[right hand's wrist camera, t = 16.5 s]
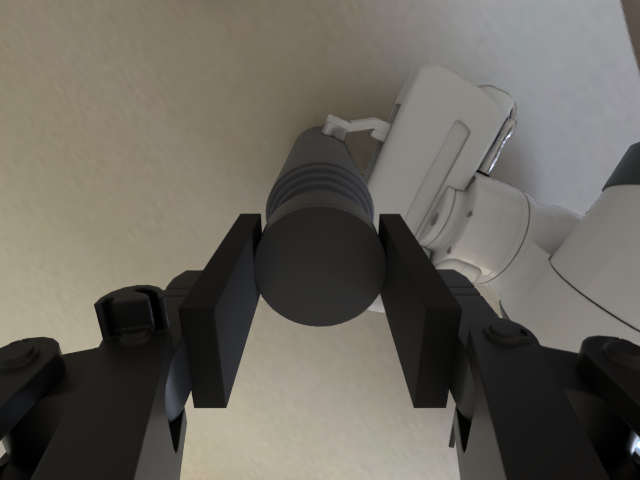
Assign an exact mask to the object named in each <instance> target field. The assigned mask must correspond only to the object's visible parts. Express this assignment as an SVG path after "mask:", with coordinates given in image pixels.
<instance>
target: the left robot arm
mask: <svg viewBox="0 0 640 480" xmlns="http://www.w3.org/2000/svg"><path fill="white" fill-rule="evenodd" d="M509 113H510V116H509V118H507V116H508V114H509ZM515 116H516V104H515V101H514V99H513V98H512V96H511V95H509V94H508V93H506V92H504V91H502V90H500V89H498V88H496V87H493V86H490V85H481V86H476V85H474V84H473V83H472V82H470V81H469V80H467V79H466V78H464V77H462V76H461V75H459V74H457V73H456V72H454V71H452V70H450V69H449V68H447V67H445V66H443V65H441V64H438V63H435V62H428V63H424V64H421V65H419V66H417V67H415V68H413V69H411V70H410V71H409V73H408V75H407V77H406V80H405V82H404V84H403V86H402V89H401V91H400V93H399V95H398V98H397V100H396V102H395V104H394V107H393V109H392V111H391V114H390V116H389V118H388V120H387V122H385V121H382V120H380V119H378V118H375V117H370V118H364V119H357V120H351V121H350V122H348V121H345V120H343V119H341V118H338V117H336V116H333V115H331V114H328V117H327V119H326V122H325V124H324V127H323V130H322V133H323V134H325V135H327V136H334V138H335V139H337V140H339V141H342V142H343V141H344V139H345V137H346V134H347V132H354V131H361V130H368V129H369V131H368V134H369V135H370V136H371V137H373V138H376V139H378V140H379V141H378V143H377V145H376V147H375V150H374V152H373V154H372V157H371V159H370V161H369V163H368V166H367V168H366V170H365V172H364V175H363V177H362V178H363V180H364V182H365V184H366V186H367V188H368V190H369V192H370V194H371V197H372V200H373V205H374V226H375V228H376V231H377V233H378V228H379V214H400V215H401V217H402V218H403V220H404V221H405V223H406V224H407V226H408V227H409V229H410V230H411V232H412V233H413V235H414V236H415V238H416V239H417V241H418V242H419V244H420V245H421V247H422V248H423V250H424V251H425V253H426V254H427V256H428V257H429V259H430V260H431V262H432V263H433V265H434V266H435V268H436V269H454V270H456V271H457V272H459V273H461V274H462V275H464V276H466V277H467V278H468V279H469V280H470V282H471V283H474V284H482V285H487V286H490V287H492V288H494V289H495V290H497V291H498V292H499V293H500V295H501V300H500V301H499V303H500V309H501V313H502V316H503V319H508V320H511V321H513V322H516V323H518V324H521V325H522V326H524V327H525V328H527V329H529V330H530V331H531V332H532V333H533V334H534V335H535V337H536V338H537V339H538V341H539V343H540V345H542V346H546V347H550V348H555V349H560V350H565V351H571V352H576V353H579V350H580V347H581V344H582V341H583V340H584V339H586V338H587V337H590V336H596V335H601V336H613V337H618V338H619V339H621V338H622V339H625V340H629V341H631V342H632V343H634V344H636V345H639V346H640V142H638V143H636V144H633V145H631V146H630V147H629V149H628V150H627V152H626V153H625V155H624V156H623V158H622V160H621V161H620V163H619V164H618V166H617V167H616V169H615V170H614V172H613V173H612V175H611V176H610V178H609V179H608V181H607V183H606V184H605V186H604V187H603V189H602V194H601V195H600V196H599V198H598V199H597V200H596V201H595V203H594V204H593V205H592V206H591V208H590V209H589V210H588V212H587V213H586V214H585V215H584V217H583V216H580V215H578V214H576V213H574V212H572V211H569V210H567V209H565V208H562V207H559V206H554V205H544V204H540V203H538V202H536V201H535V200H533V199H532V198H531V197H530V196H529V195H528V194H527V193H525V192H523V191H522V190H520V189H517V188H515V187H512V186H510V185H508V184H505V183H503V182H501V181H498V180H496V179H493V178H491V177H489V174H490V172H491V171H492V169H493V167H494V165H495V164H496V162H497V160H498V158H499V156H500V153H501V150H502V149H503V147H504V145H505V143H506V141H507V140H508V138H510V137H511V135H512V134H513V132H514V130H515V127H516V124H517V121H515V120H514V119H515ZM367 310H371V311H376V312H384V313H385V309H384V306H383V303H382V299H381V296H380V294H379V295H378V297H377V298H376V300H375V301H374V302H373V303H372V305H371V306H370V307H369V308H368V309H367ZM635 451H636V452H637V454H638V455H639V456H640V439H639V441H638V444H637V446H636V448H635Z"/></svg>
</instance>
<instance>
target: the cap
mask: <svg viewBox="0 0 640 480" xmlns="http://www.w3.org/2000/svg"><path fill="white" fill-rule="evenodd" d="M254 272H255V281H256V285H257V287H258V289H259V291H260V293H261V295H262V297H263V298H264V300H265V301H266V302H267V303H268V304H269V306H270V307H271V308H272V309H274V310H275V311H276V312H277V313H279V314H280V315H282V316H283V317H285V318H287V319H289V320H291V321H293V322H296V323H299V324H303V325H308V326H317V327H320V326H332V325H337V324H341V323H344V322H347V321H349V320H351V319H353V318H355V317H357V316H358V315H360V314H361V313H363V312H364V311H365V310H366V309H368V308H369V307H370V306H371V305H372V303H373V302H374V301H375V300H376V298H377V297H378V295H379V294H380V292H381V290H382V288H383V285H384V282H385V275H386V254H385V250H384V247H383V245H382V243H381V240H380V238H379V235H378V233H377V231H376V228H375V226H374V223H373V222H372V220H371V218H370V216H369V215H368V214H367V213H366V211H365V210H364V209H363V208H362V207H361V206H359V205H358V204H357V203H355V202H354V201H352V200H351V199H349V198H347V197H345V196H342V195H339V194H336V193H331V192H323V191H322V192H309V193H304V194H301V195H298V196H296V197H293V198H291V199H289V200H288V201H286V202H285V203H283V204H282V205H281V206H280V207H278V208H277V209H276V211H275V212H274V213H273V214H272V215H271V217H270V218H269V220H268V222H267V224H266V226H265V228H264V230H263V233H262V235H261V238H260V240H259V243H258V245H257V248H256V251H255V255H254Z"/></svg>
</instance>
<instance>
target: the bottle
mask: <svg viewBox="0 0 640 480" xmlns="http://www.w3.org/2000/svg"><path fill="white" fill-rule="evenodd" d="M322 130H323V127H314V128H311V129H308V130H306V131H305V132H303V133H302V134H301V135H300V136H299V138H298V139H297V141H296V143H295V145H294V147H293V148H292V150H291V152H290V154H289V156H288V158H287V160H286V162H285V164H284V166H283V168H282V170H281V172H280V174H279V176H278V178H277V180H276V182H275V184H274V186H273V188H272V190H271V192H270V195H269V197H268V201H267V205H266V222H268V220H269V218H270V217H271V215H272V214H273V213H274V212H275V211H276V209H277V208H278V207H280V206H281V205H282V204H283V203H285V202H286V201H288V200H289V199H291V198H293V197H296V196H298V195H301V194H304V193H309V192H322V191H323V192H331V193H336V194H339V195H342V196H345V197H347V198H349V199H351V200H352V201H354V202H355V203H357V204H358V205H359V206H361V207H362V208H363V209H364V210H365V211H366V213H367V214H368V215H369V216H370V218H371V220H372V222H373V223H374V205H373V200H372V197H371V194H370V192H369V190H368V188H367V186H366V184H365V182H364V180H363V178H362V176H361V174H360V172H359V170H358V168H357V166H356V164H355V162H354V160H353V158H352V156H351V154H350V152H349V151H348V149H347V147H346V145H345V143H344V141H343V142H342V141H339V140H337V139H335V138H334V136H327V135H325V134H323V133H322Z"/></svg>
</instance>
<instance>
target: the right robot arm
mask: <svg viewBox="0 0 640 480" xmlns="http://www.w3.org/2000/svg"><path fill="white" fill-rule="evenodd" d="M261 235H262V224H261V214H240V215H239V217H238V218H237V220H236V221H235V223H234V225H233V226H232V228H231V229H230V231H229V232H228V234H227V235H226V237H225V238H224V240H223V241H222V243H221V244H220V246H219V247H218V249H217V250H216V252H215V253H214V255H213V256H212V258H211V259H210V261H209V262H208V264H207V265H206V267H205V268H204V270H187V271H185V272H183V273H182V274H180V275H178V276H177V277H175V278H173V280H172V281H171V282H170V284H169V285H168V286H167V287H166V290H164V291H163V290H162V289H160V288H159V287H156V286H151V285H136V286H130V287H125V288H121V289H119V290H116V291H113V292H110V293H109V294H107V295H105V296H103V297H101V298H100V299H99V300H98V301H97V302H96V303H95V304H94V306H95V310H96V314H97V318H98V322H99V325H100V329H101V333H102V337H103V340H102V342H101V344H100V346H99V347H97V348H94V349H89V350H84V351H79V352H73V353H68V354H63V355H62V352H61V349H60V346H59V343H58V342H57V341H56V340H54V339H53V338H47V337H37V338H27V339H22V340H21V341H20V340H18V341H15V342H12V343H10V344H9V345H6V346H4V347H2V348H0V441H2V443H3V445H4V447H5V450H6V453H5V454H4V455H3V456H2V457H1V458H0V480H180V472H181V464H182V457H183V449H184V441H185V433H186V426H187V420H186V413H185V407H184V406H185V403H186V401H187V399H188V397H189V394H190V392H191V391H192V397H193V403H194V408H226V407H227V404H228V401H229V397H230V394H231V391H232V387H233V384H234V381H235V377H236V374H237V370H238V367H239V364H240V360H241V357H242V354H243V350H244V347H245V344H246V340H247V337H248V334H249V330H250V327H251V323H252V320H253V317H254V313H255V310H256V307H257V303H258V300H259V297H260V291H259V289H258V287H257V285H256V281H255V272H254V255H255V251H256V248H257V245H258V243H259V240H260V238H261ZM378 235H379V238H380V240H381V243H382V245H383V247H384V250H385V254H386V275H385V282H384V285H383V288H382V290H381V292H380V296H381V299H382V303H383V306H384V309H385V313H386V316H387V319H388V323H389V326H390V329H391V333H392V336H393V339H394V343H395V346H396V350H397V353H398V356H399V360H400V363H401V366H402V370H403V373H404V376H405V380H406V383H407V386H408V390H409V393H410V397H411V400H412V403H413V407H414V408H446V405H447V399H448V393H449V389H450V392H451V394H452V396H453V399H454V401H455V403H456V407H455V413H454V418H453V424H452V430H451V435H450V442H449V447H452V448H454V444H455V440H456V448H457V456H458V463H459V471H460V479H461V480H640V456H639V455H638V454H637V452H636V451H635V448H636V446H637V444H638V441H639V439H640V346H639V345H636V344H634V343H632V342H631V341H629V340H625V339H622V338H621V339H619V338H618V337H613V336H601V335H596V336H590V337H587V338H586V339H584V340H583V341H582V344H581V347H580V350H579V353H576V352H571V351H565V350H560V349H555V348H550V347H546V346H542V345H540V343H539V341H538V339H537V338H536V337H535V335H534V334H533V333H532V332H531V331H530V330H529V329H527V328H525V327H524V326H522V325H521V324H518V323H516V322H513V321H511V320H508V319H503V318H499V317H498V315H497V314H496V313H495V312H494V310H493V309H492V308H491V307H490V305H489V304H488V303H487V302H486V300H485V299H484V298H483V297H482V296H481V295H480V293H479V292H478V290H477V289H476V288H474V285H473V284H472V283H471V282H470V280H469V279H468V278H467V277H466V276H464V275H462V274H461V273H459V272H457V271H456V270H454V269H436V268H435V266H434V265H433V263H432V262H431V260H430V259H429V257H428V256H427V254H426V253H425V251H424V250H423V248H422V247H421V245H420V244H419V242H418V241H417V239H416V238H415V236H414V235H413V233H412V232H411V230H410V229H409V227H408V226H407V224H406V223H405V221H404V220H403V218H402V217H401V215H400V214H379V228H378Z"/></svg>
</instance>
